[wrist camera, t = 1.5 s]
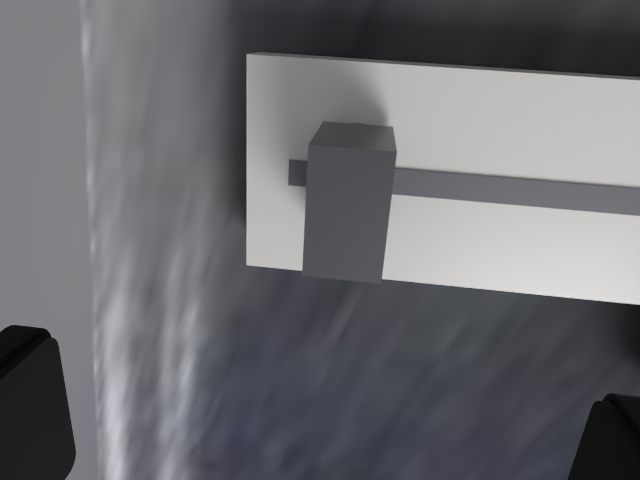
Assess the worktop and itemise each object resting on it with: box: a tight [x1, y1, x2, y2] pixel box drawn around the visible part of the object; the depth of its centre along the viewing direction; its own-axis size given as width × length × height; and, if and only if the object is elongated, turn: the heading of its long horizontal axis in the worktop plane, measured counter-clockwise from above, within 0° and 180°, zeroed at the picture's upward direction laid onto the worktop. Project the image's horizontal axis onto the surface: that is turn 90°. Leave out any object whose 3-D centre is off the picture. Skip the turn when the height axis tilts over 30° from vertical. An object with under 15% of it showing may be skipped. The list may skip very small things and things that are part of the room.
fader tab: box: [302, 121, 397, 284], centre depth 20 cm, size 5×3×5 cm, turn 177°
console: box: [247, 52, 640, 305], centre depth 23 cm, size 10×26×3 cm, turn 87°
